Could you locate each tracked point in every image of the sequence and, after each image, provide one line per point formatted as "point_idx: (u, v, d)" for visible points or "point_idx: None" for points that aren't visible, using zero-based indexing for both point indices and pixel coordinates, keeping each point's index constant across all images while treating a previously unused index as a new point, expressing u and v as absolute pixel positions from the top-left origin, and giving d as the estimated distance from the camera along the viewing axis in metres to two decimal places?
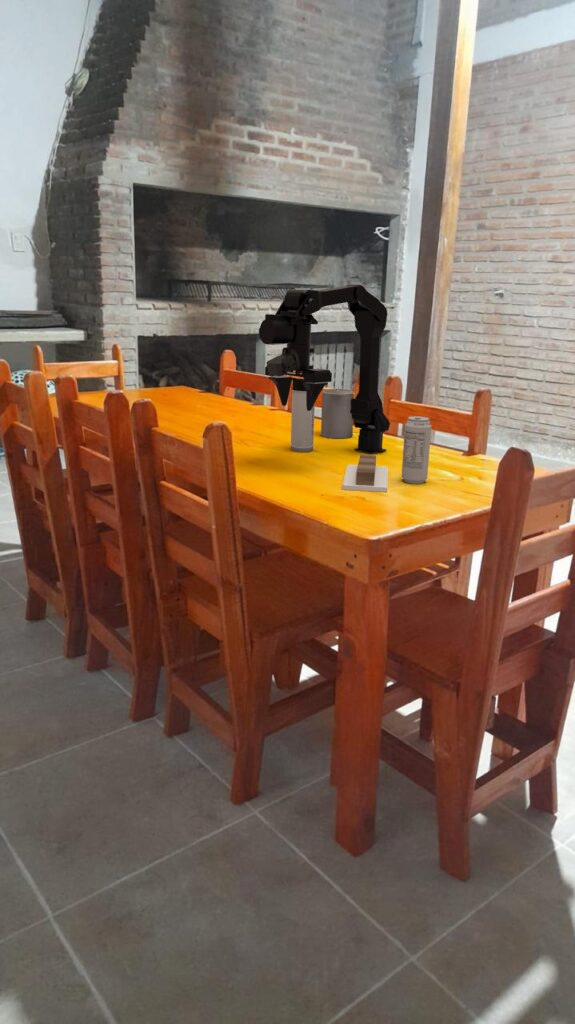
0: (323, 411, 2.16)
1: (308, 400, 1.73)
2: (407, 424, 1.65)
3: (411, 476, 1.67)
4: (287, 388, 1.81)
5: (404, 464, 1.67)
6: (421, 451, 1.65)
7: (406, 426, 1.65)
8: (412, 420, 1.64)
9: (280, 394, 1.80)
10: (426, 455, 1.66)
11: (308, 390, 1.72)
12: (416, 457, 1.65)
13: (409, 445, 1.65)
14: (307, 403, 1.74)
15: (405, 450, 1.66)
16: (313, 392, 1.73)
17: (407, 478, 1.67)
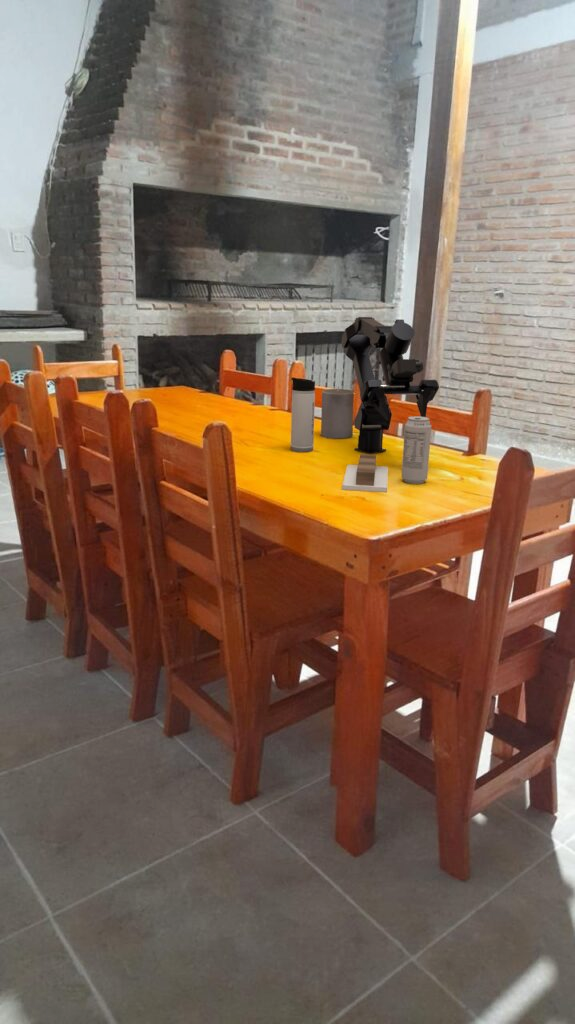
0: (323, 411, 2.16)
1: (426, 407, 1.74)
2: (407, 424, 1.65)
3: (411, 476, 1.67)
4: None
5: (404, 464, 1.67)
6: (421, 451, 1.65)
7: (406, 426, 1.65)
8: (412, 420, 1.64)
9: (385, 407, 1.72)
10: (426, 455, 1.66)
11: (426, 397, 1.75)
12: (416, 457, 1.65)
13: (409, 445, 1.65)
14: (424, 410, 1.74)
15: (405, 450, 1.66)
16: None
17: (407, 478, 1.67)
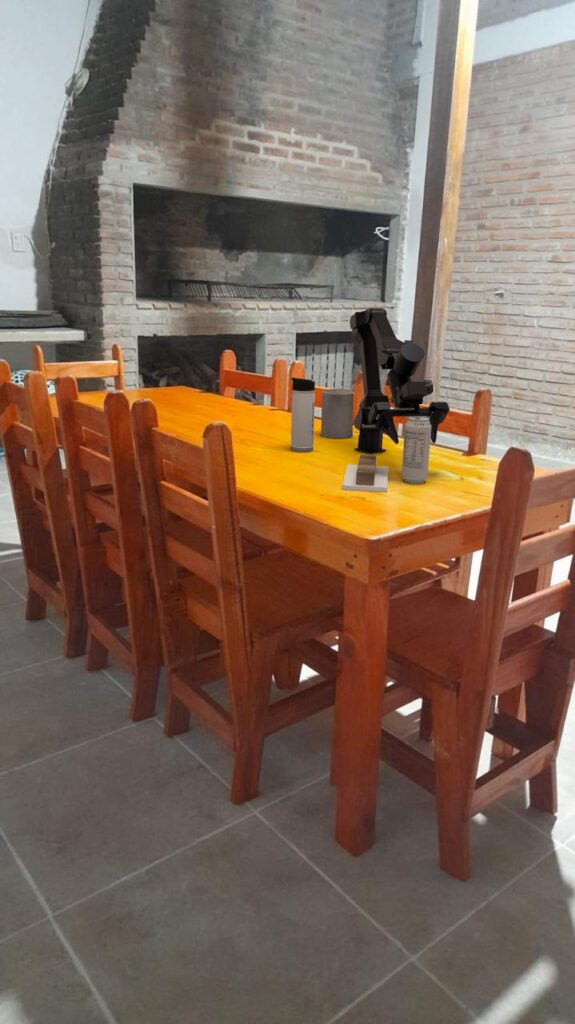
0: (323, 411, 2.16)
1: (436, 430, 1.69)
2: (407, 424, 1.65)
3: (411, 476, 1.67)
4: None
5: (404, 464, 1.67)
6: (421, 451, 1.65)
7: (406, 426, 1.65)
8: (412, 420, 1.64)
9: (394, 430, 1.67)
10: (426, 455, 1.66)
11: (436, 420, 1.70)
12: (416, 457, 1.65)
13: (409, 445, 1.65)
14: (435, 433, 1.69)
15: (405, 450, 1.66)
16: None
17: (407, 478, 1.67)
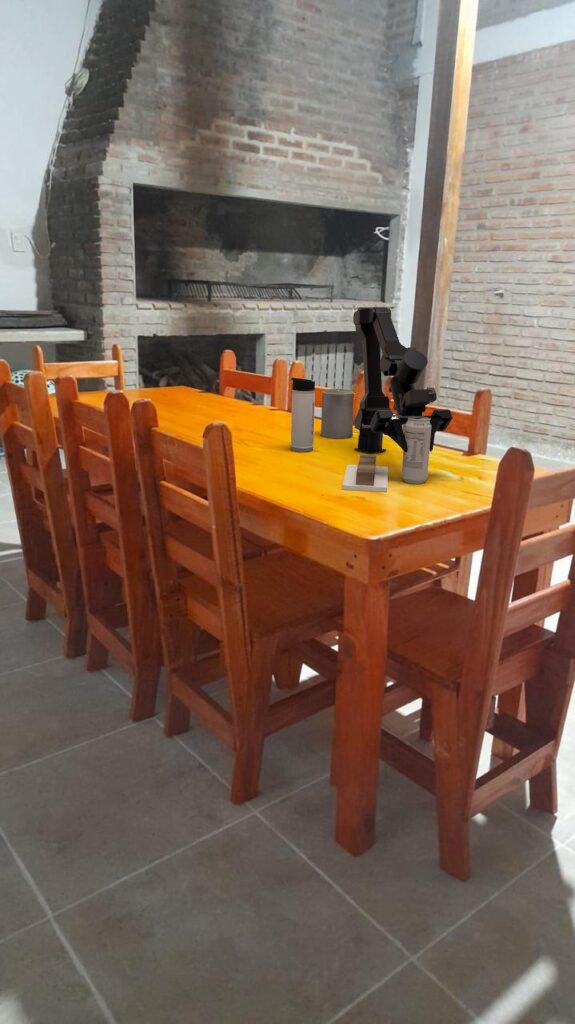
0: (323, 411, 2.16)
1: (433, 438, 1.67)
2: (407, 424, 1.65)
3: (411, 476, 1.67)
4: None
5: (404, 464, 1.67)
6: (421, 451, 1.65)
7: (406, 426, 1.65)
8: (412, 420, 1.64)
9: (403, 438, 1.66)
10: (426, 455, 1.66)
11: (433, 428, 1.68)
12: (416, 457, 1.65)
13: (409, 445, 1.65)
14: (432, 441, 1.67)
15: None
16: None
17: (407, 478, 1.67)
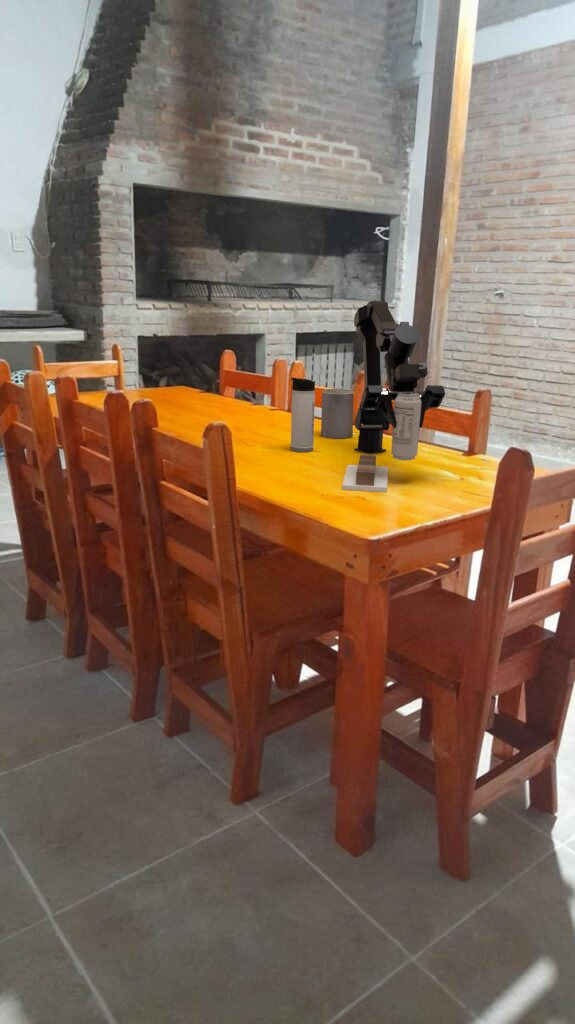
0: (323, 411, 2.16)
1: (423, 414, 1.65)
2: (396, 399, 1.63)
3: (399, 452, 1.65)
4: None
5: (393, 440, 1.66)
6: (409, 426, 1.62)
7: (395, 401, 1.63)
8: (401, 395, 1.62)
9: (392, 413, 1.64)
10: (415, 431, 1.63)
11: (424, 404, 1.66)
12: (404, 433, 1.63)
13: (397, 421, 1.63)
14: (422, 417, 1.65)
15: None
16: None
17: (396, 454, 1.65)
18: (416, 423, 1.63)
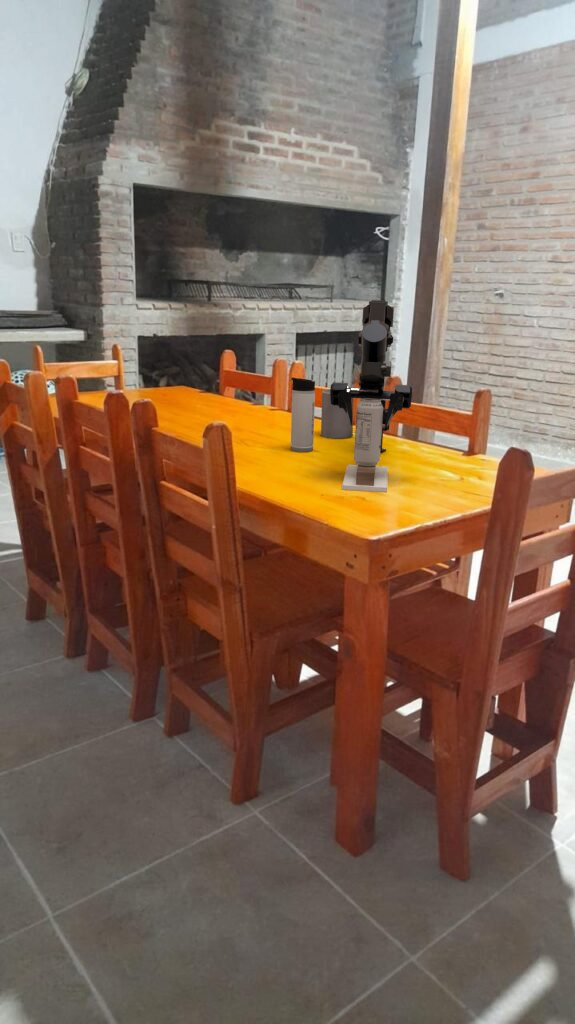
0: (323, 411, 2.16)
1: (390, 414, 1.63)
2: None
3: (358, 457, 1.65)
4: None
5: (355, 445, 1.67)
6: (367, 432, 1.63)
7: (357, 406, 1.65)
8: (361, 400, 1.63)
9: (350, 411, 1.64)
10: (374, 437, 1.63)
11: (392, 403, 1.64)
12: (362, 438, 1.64)
13: (357, 426, 1.64)
14: (388, 417, 1.63)
15: (355, 431, 1.66)
16: None
17: (355, 459, 1.66)
18: (375, 429, 1.63)
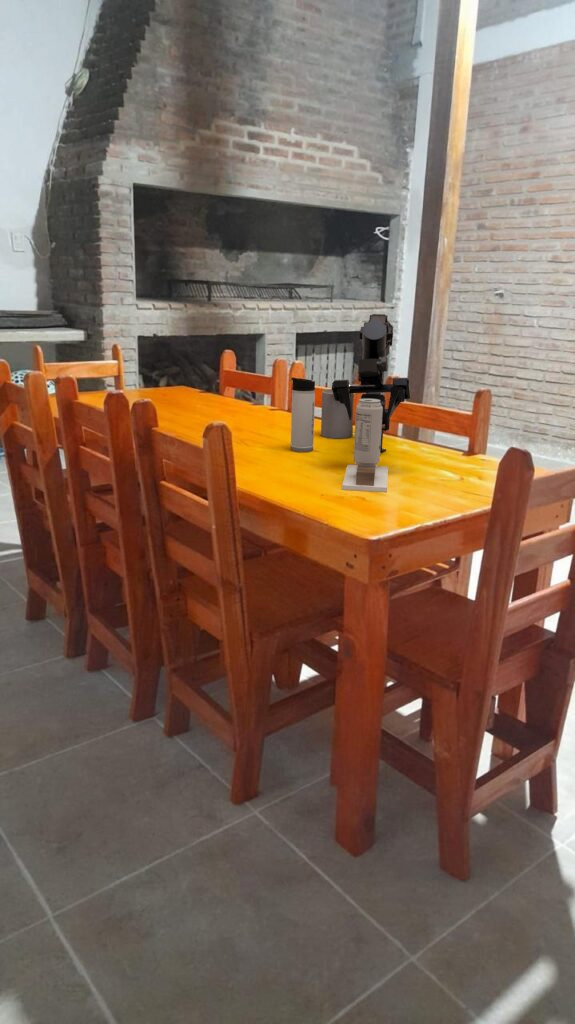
0: (323, 411, 2.16)
1: (391, 406, 1.72)
2: (357, 405, 1.64)
3: (358, 458, 1.65)
4: (350, 407, 1.77)
5: (354, 446, 1.67)
6: (367, 433, 1.63)
7: (356, 407, 1.64)
8: (360, 401, 1.63)
9: (348, 407, 1.74)
10: (373, 438, 1.63)
11: (393, 396, 1.72)
12: (362, 439, 1.64)
13: (357, 427, 1.64)
14: (389, 410, 1.71)
15: (355, 432, 1.66)
16: (394, 402, 1.73)
17: (355, 460, 1.66)
18: (375, 430, 1.63)
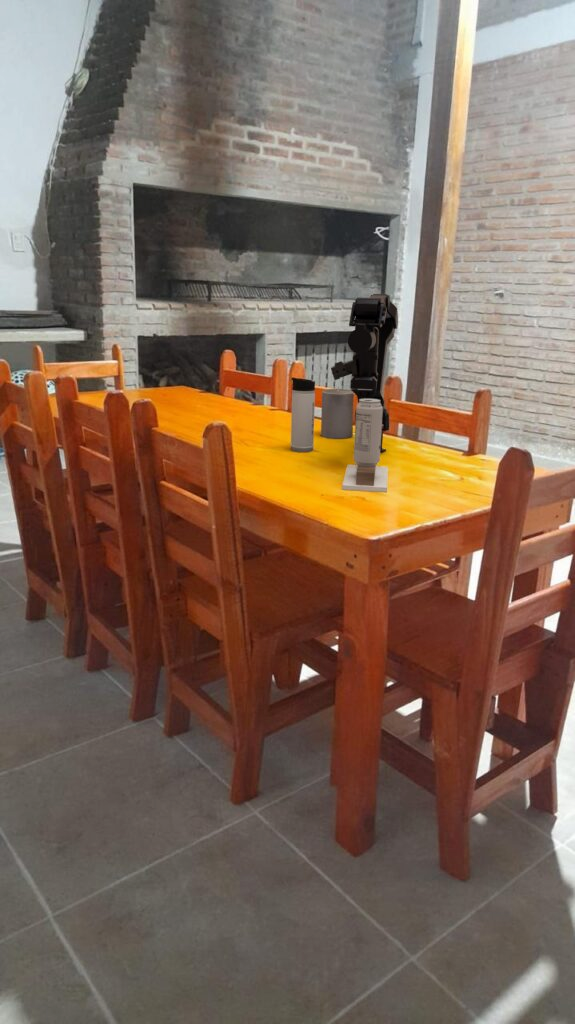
0: (323, 411, 2.16)
1: None
2: (357, 405, 1.64)
3: (358, 458, 1.65)
4: None
5: (354, 446, 1.67)
6: (367, 433, 1.63)
7: (356, 407, 1.64)
8: (360, 401, 1.63)
9: None
10: (373, 438, 1.63)
11: (357, 396, 1.75)
12: (362, 439, 1.64)
13: (357, 427, 1.64)
14: None
15: (355, 432, 1.66)
16: (363, 398, 1.75)
17: (355, 460, 1.66)
18: (375, 430, 1.63)
